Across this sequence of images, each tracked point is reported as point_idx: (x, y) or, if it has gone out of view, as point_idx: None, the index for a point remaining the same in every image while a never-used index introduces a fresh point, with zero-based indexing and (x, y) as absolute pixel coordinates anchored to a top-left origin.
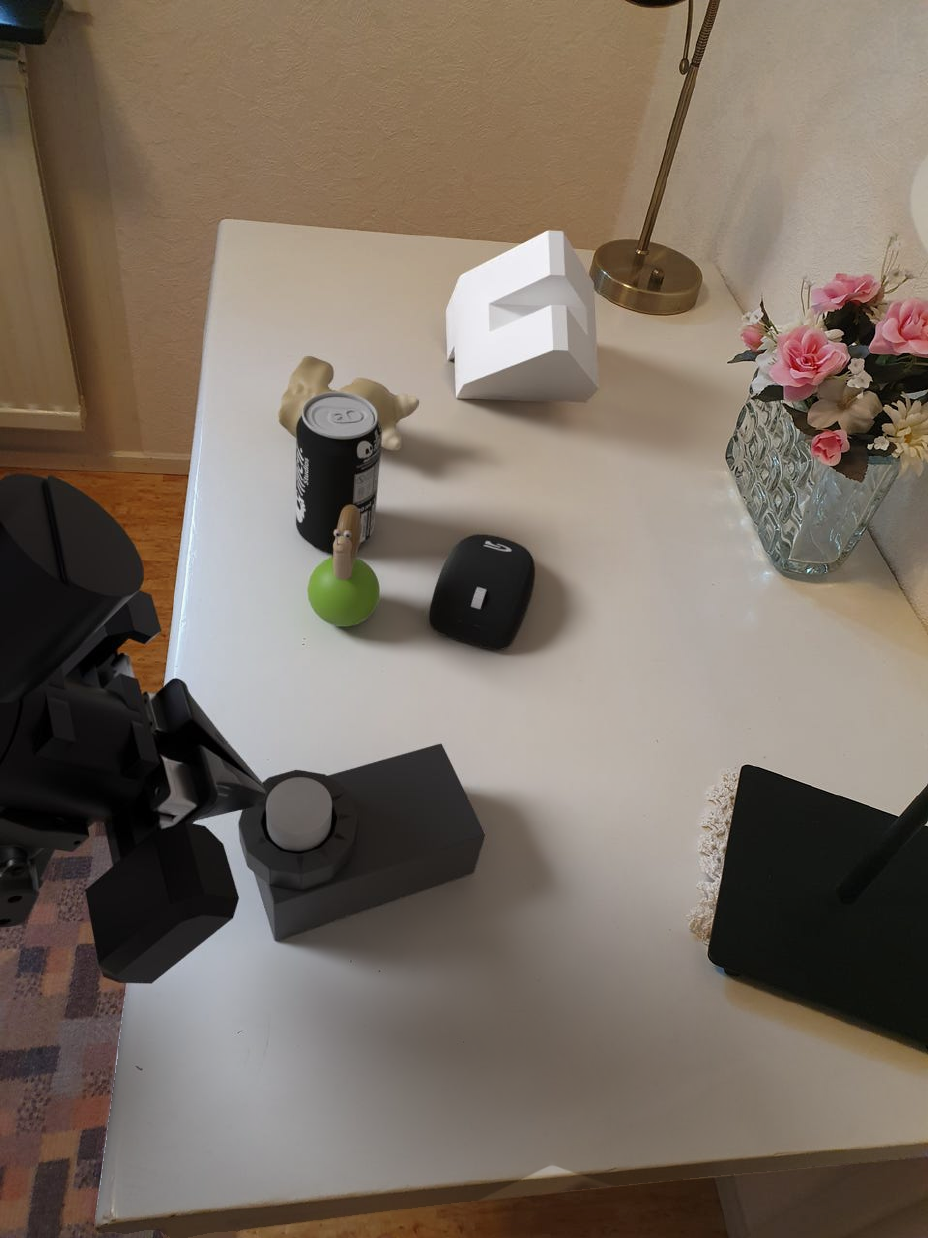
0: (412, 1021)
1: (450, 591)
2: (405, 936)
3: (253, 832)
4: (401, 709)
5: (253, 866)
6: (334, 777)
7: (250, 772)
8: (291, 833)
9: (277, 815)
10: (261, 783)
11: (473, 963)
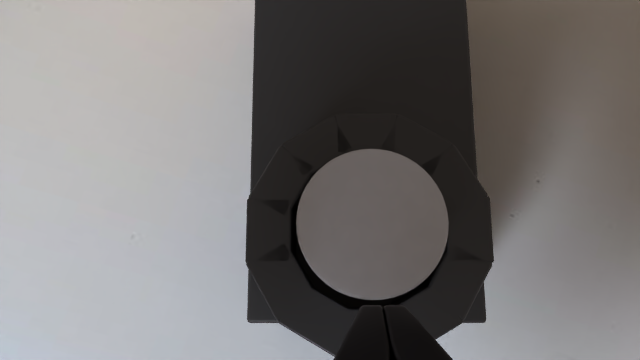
0: (621, 162)
1: None
2: (498, 129)
3: None
4: (122, 5)
5: None
6: (260, 136)
7: (368, 348)
8: (438, 259)
9: (385, 277)
10: (371, 312)
11: (564, 54)
